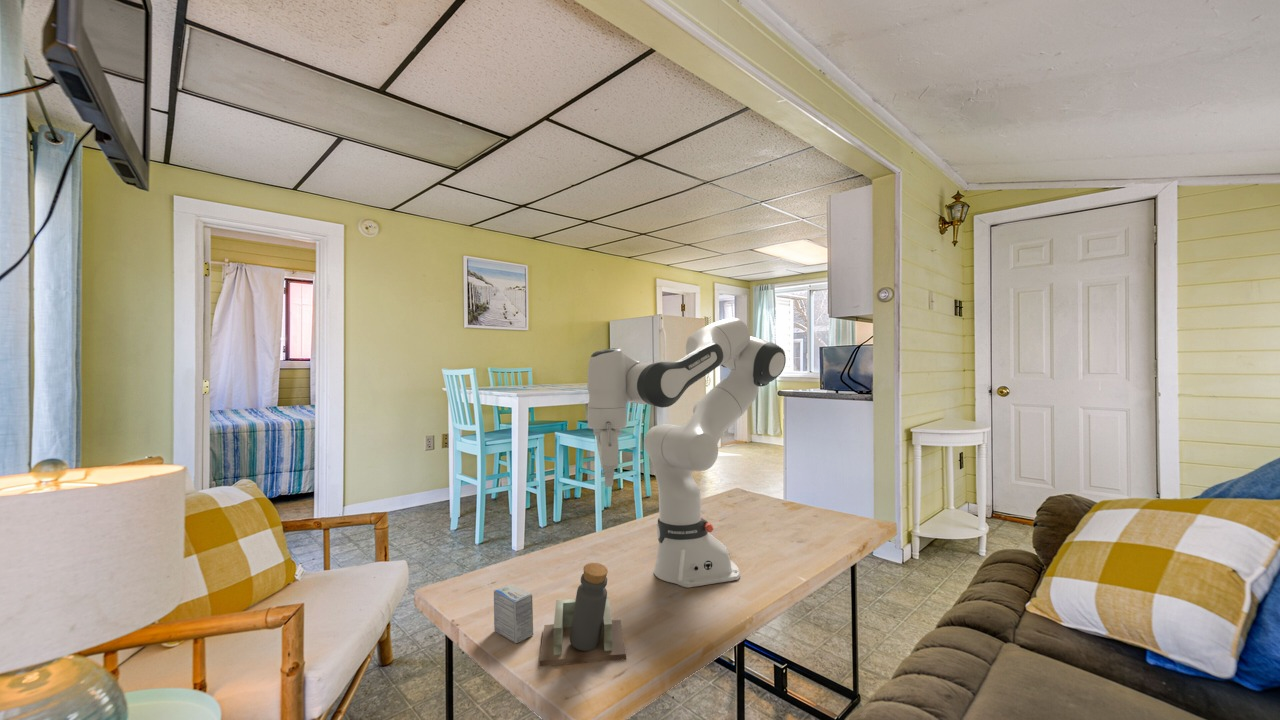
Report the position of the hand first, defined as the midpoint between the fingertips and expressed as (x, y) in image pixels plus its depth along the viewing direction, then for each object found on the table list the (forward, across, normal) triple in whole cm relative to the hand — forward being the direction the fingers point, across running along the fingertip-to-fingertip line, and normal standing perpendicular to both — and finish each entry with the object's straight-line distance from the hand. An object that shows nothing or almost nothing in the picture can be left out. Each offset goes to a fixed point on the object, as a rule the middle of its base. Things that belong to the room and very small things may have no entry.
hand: (607, 481), depth 114 cm
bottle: (+28, -15, +6) cm, 32 cm away
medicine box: (+29, -7, +20) cm, 36 cm away
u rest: (+29, -13, +6) cm, 32 cm away
